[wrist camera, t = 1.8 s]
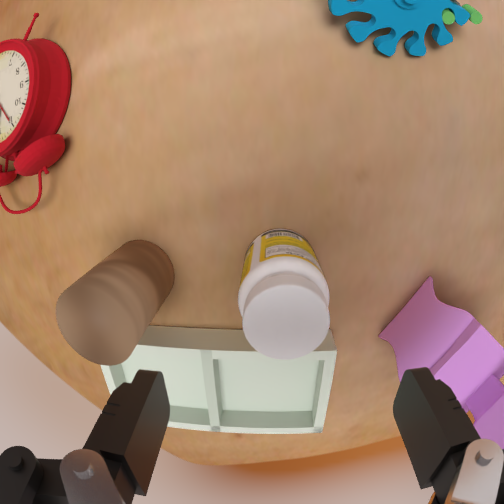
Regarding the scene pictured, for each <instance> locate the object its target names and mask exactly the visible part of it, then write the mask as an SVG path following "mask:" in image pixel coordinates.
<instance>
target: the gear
mask: <svg viewBox="0 0 504 504" xmlns="http://www.w3.org/2000/svg"><path fill="white" fill-rule="evenodd" d="M328 5H329V10H330V11H331V13H332V14H333V15H336V16H341V15H344V14H346V13H349V12H355V11H360V12H366V13H369V14H371V15H372V17H371V19H370V20H369V21H368V22H359V21H350V22H348V23H347V24H346V28H347V30H348V32H349V33H350V35H351V36H352V38H353V39H354V40H355V41H356V42H362V41H364V40H365V39H366V38H367V37H368V35H370V34H371V33H372V32H374V31H375V30H378V29H381V28H386V27H391V31H390V33H389V34H387V35H383V36H379V37H377V38H376V39H375V40H374V43H373V44H374V45H375V46H376V48H377V49H378V50H379V51H380V52H381V53H383V54H385V55H387V56H392V55H393V54H394V53H395V51H396V45H397V43H398V41H399V40H400V38H401V37H402V36H403V35H405V34H406V33H407V32H409V31H414V34H413V36H411V37H410V38H409V39H408V40H407V41H406V42H405V49H406V50H407V51H408V52H409V53H410V54H411V55H415V56H424V55H425V53H426V47H425V44H424V35H425V32H426V30H427V27H428V26H429V25H430V24H435V26H434V29H433V31H432V37H433V39H434V40H435V41H436V42H437V43H438V44H439V45H440V46H442V45H446V44H449V43H450V42H452V41H453V37H452V35H451V34H450V33H449V32H448V31H447V30H446V28H445V26H444V24H443V22H444V23H445V24H452V23H453V22H454V21H455V22H457V23H458V24H459V25H461V26H462V25H463V24H465V23H466V22H467V20H468V19H469V20H470V21H471V22H473V23H474V24H479V23H481V21H482V15H481V14H480V13H479V12H478V11H477V10H475V9H474V8H473V7H471V6H470V5H468V4H465V5H463V6H462V7H461V6H460V4H459V3H458V2H457V1H456V0H357V1H355V2H350V1H348V0H328Z"/></svg>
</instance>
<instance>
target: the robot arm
mask: <svg viewBox="0 0 504 504" xmlns="http://www.w3.org/2000/svg"><path fill="white" fill-rule="evenodd" d="M393 414H394V418H395V421H396V423H397V426H398V428H399V431H400V434H401V436H402V439H403V441H404V444H405V447H406V449H407V452H408V455H409V457H410V460H411V462H412V465H413V468H414V471H415V474H416V477H417V480H418V482H419V485H420V488H421V489H423V488H427V487H431V486H433V488H434V491H435V492H434V493H433V494H432V496H431V499H430V501H429V503H428V504H504V449H501V447H500V446H499V445H498V444H497V443H495V442H494V441H492V440H489V439H481V438H480V436H479V434H478V432H477V431H476V429H475V427H474V426H473V424H472V422H471V420H470V419H469V417H468V415H467V414H466V412H465V410H464V409H463V408H462V406H461V404H460V402H459V401H458V400H457V397H456V396H455V394H454V393H453V391H452V389H451V388H450V387H449V386H448V385H446V384H445V383H444V382H443V381H441V380H440V379H438V380H436V379H435V378H434V376H433V374H432V373H431V371H430V370H429V368H427V367H422V368H414V369H407V370H405V372H404V374H403V377H402V380H401V383H400V386H399V389H398V392H397V394H396V397H395V400H394V404H393ZM169 417H170V403H169V399H168V394H167V390H166V386H165V381H164V376H163V373H162V372H161V371H152V370H143V369H139V370H138V371H137V373H136V375H135V377H134V379H133V381H132V383H127V382H123V383H122V384H121V385H120V386H119V387H117V388H116V389H115V390H114V391H113V392H112V394H111V396H110V398H109V399H108V401H107V405H105V407H104V409H103V411H102V414H100V416H99V418H98V420H97V422H96V424H95V426H94V428H93V430H92V432H91V434H90V436H89V438H88V440H87V441H86V443H85V445H84V447H83V448H82V449H78V450H74V451H72V452H70V453H68V454H67V455H66V456H65V457H64V458H63V459H60V460H58V459H37V458H36V457H35V456H34V454H33V453H32V452H31V451H30V450H29V449H28V448H25V447H22V446H14V447H10V448H8V449H6V450H5V451H4V452H3V453H2V454H1V455H0V504H132V500H133V497H134V494H138V495H143V496H146V494H147V490H148V487H149V484H150V480H151V477H152V474H153V470H154V467H155V464H156V460H157V457H158V454H159V451H160V447H161V444H162V441H163V438H164V434H165V431H166V428H167V425H168V422H169Z"/></svg>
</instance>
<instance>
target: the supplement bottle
mask: <svg viewBox="0 0 504 504" xmlns="http://www.w3.org/2000/svg"><path fill="white" fill-rule="evenodd" d="M328 305H329V289H328V285H327V282H326V279H325V277H324V275H323V272H322V270H321V267H320V265H319V263H318V261H317V258H316V256H315V254H314V251H313V249H312V247H311V246H310V244H309V243H308V241H307V240H306V239H305V238H304V237H303V236H301V235H300V234H298V233H296V232H294V231H291V230H288V229H273V230H269V231H267V232H264V233H262V234H261V235H259V236H258V237H257V238H256V239H255V240H254V241H253V242H252V243H251V245H250V246H249V248H248V250H247V252H246V256H245V260H244V266H243V272H242V277H241V282H240V287H239V292H238V306H239V310H240V313H241V316H242V318H243V319H242V325H243V331H244V334H245V337H246V339H247V340H248V342H249V343H250V345H251V346H252V347H253V348H254V349H255V350H257V351H258V352H260V353H261V354H263V355H265V356H267V357H270V358H274V359H282V360H289V359H295V358H299V357H302V356H304V355H307V354H309V353H310V352H312V351H313V350H315V349H316V348H317V347H318V346H319V345H320V344H321V343H322V342H323V340H324V339H325V337H326V335H327V333H328V330H329V326H330V314H329V310H328Z"/></svg>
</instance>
